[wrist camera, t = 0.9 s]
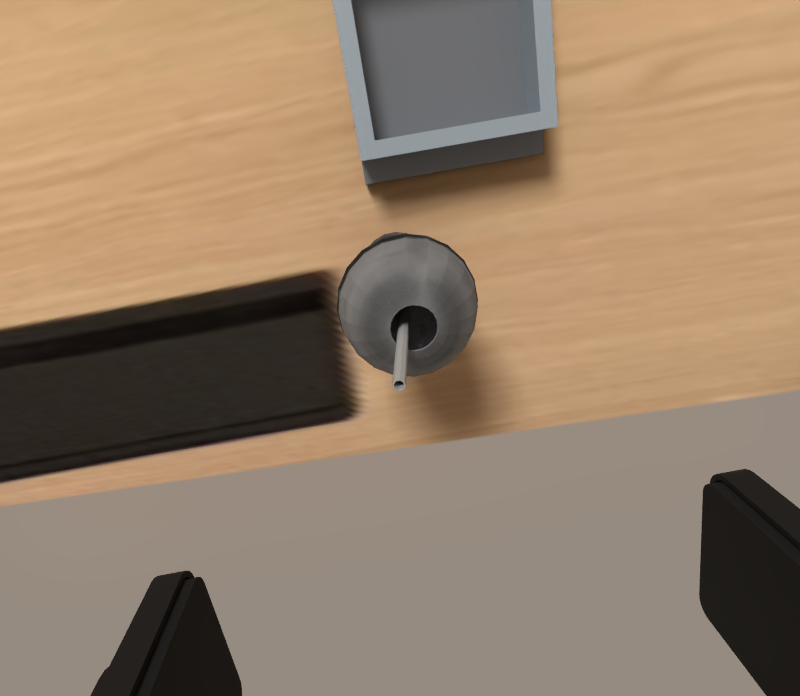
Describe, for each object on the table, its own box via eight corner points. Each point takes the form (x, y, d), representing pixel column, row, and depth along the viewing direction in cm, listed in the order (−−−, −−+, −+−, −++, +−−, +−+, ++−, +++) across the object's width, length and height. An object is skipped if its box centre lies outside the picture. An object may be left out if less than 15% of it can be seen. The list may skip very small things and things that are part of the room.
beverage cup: (466, 270, 39) (561, 376, 20) (389, 332, 40) (409, 487, 21) (403, 189, 36) (442, 222, 18) (324, 257, 38) (281, 355, 19)
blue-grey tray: (520, -116, 31) (541, -154, 27) (539, 153, 36) (559, 152, 32) (318, -81, 31) (312, -114, 27) (366, 184, 36) (365, 186, 32)
